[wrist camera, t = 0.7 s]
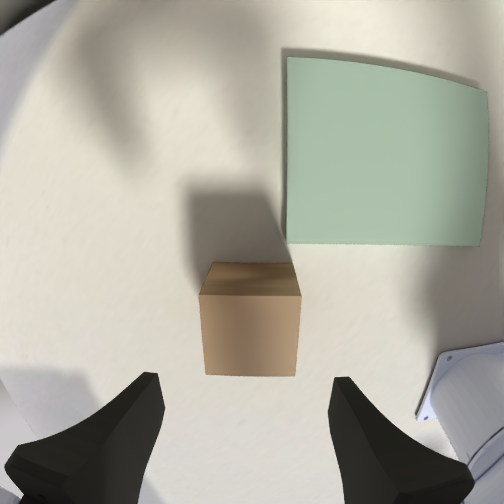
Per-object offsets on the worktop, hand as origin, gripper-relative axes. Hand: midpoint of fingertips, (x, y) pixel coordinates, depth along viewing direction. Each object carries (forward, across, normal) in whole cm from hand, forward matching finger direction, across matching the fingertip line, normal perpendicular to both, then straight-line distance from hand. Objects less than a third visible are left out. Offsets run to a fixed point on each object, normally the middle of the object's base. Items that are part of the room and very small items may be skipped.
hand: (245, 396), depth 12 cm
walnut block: (+9, 0, 0) cm, 9 cm away
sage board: (+9, -9, -10) cm, 16 cm away
